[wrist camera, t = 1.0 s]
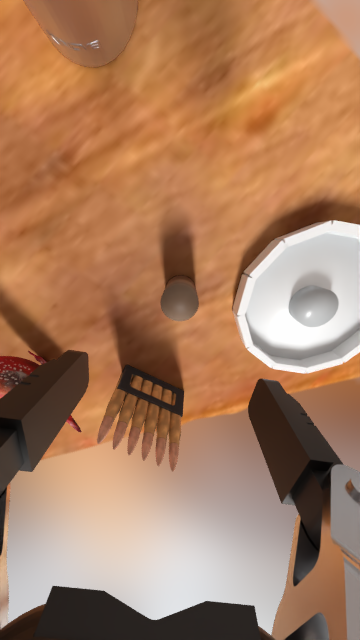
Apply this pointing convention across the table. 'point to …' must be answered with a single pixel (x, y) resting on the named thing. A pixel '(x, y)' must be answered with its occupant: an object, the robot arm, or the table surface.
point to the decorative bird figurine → (20, 376)
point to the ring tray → (303, 299)
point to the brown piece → (179, 298)
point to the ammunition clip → (156, 397)
